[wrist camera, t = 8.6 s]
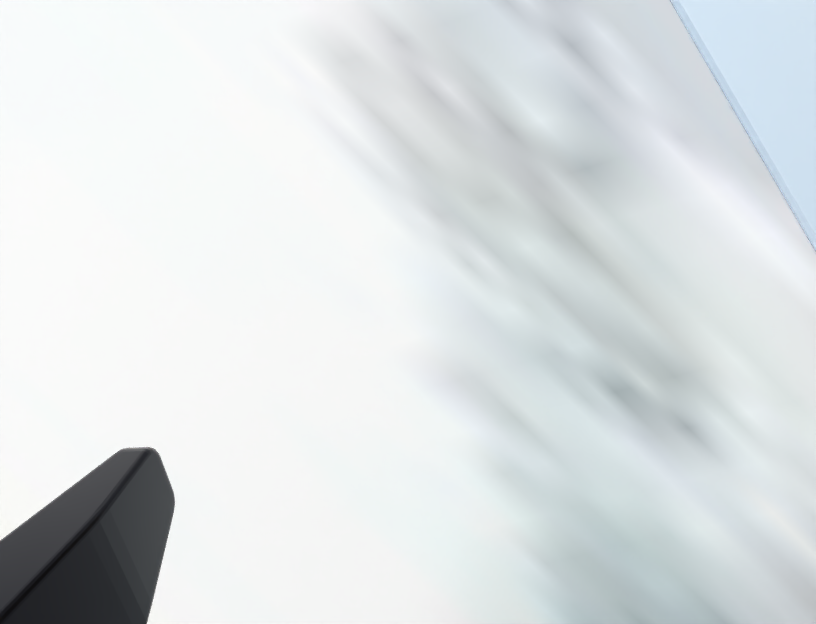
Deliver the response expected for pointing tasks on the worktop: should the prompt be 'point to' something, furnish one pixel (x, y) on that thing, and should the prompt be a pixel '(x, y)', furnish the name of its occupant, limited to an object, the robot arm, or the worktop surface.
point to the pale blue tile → (767, 83)
